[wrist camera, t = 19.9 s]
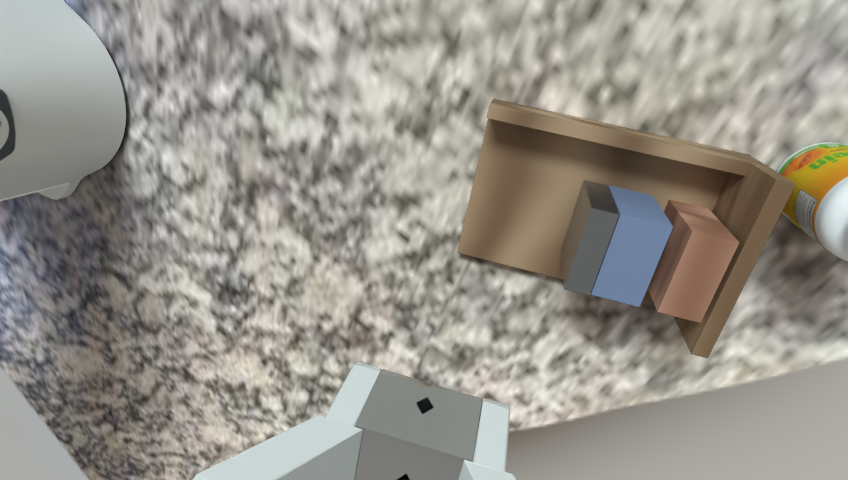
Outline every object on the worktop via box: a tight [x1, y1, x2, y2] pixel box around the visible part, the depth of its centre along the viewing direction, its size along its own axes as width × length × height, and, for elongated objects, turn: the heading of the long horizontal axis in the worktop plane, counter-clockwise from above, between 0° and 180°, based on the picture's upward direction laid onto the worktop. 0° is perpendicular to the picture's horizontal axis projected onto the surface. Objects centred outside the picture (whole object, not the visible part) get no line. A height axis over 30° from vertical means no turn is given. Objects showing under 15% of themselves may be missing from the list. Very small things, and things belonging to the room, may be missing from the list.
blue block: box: [591, 185, 673, 307], centre depth 34 cm, size 3×6×6 cm, turn 169°
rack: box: [457, 99, 796, 358], centre depth 34 cm, size 17×12×7 cm
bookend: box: [561, 180, 619, 295], centre depth 34 cm, size 2×6×6 cm, turn 169°
